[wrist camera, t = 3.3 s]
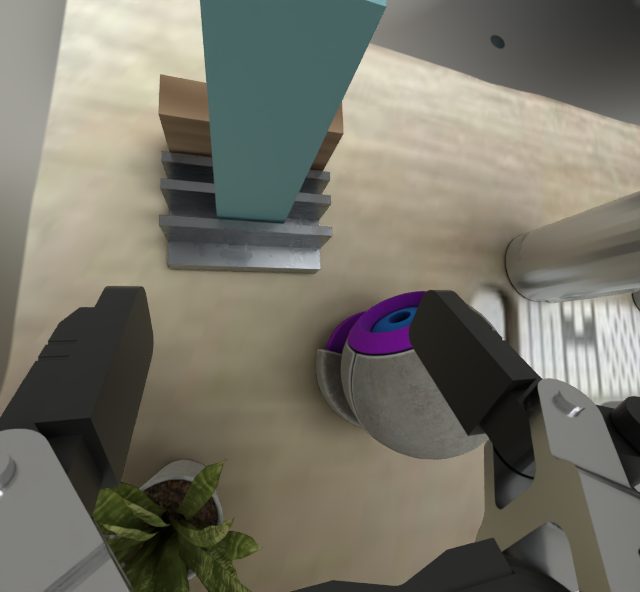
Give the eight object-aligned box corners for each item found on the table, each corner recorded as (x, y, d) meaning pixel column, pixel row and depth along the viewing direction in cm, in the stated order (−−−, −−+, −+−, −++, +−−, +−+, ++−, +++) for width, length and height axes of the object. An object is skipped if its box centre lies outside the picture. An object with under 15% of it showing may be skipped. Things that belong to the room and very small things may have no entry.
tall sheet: (278, 236, 31) (386, 6, 10) (218, 232, 29) (196, -50, 8) (277, 220, 31) (382, -37, 10) (218, 215, 29) (197, -100, 9)
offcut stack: (312, 188, 33) (343, 133, 24) (176, 174, 29) (155, 103, 20) (312, 162, 33) (341, 98, 24) (177, 144, 29) (157, 62, 21)
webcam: (390, 285, 36) (499, 247, 22) (445, 383, 36) (588, 408, 22) (294, 344, 32) (348, 344, 17) (356, 454, 32) (460, 543, 18)
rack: (315, 273, 33) (333, 258, 28) (171, 269, 29) (157, 251, 24) (310, 151, 35) (327, 114, 30) (175, 132, 31) (164, 85, 26)
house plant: (21, 505, 24) (-354, 801, 8) (168, 368, 28) (96, 397, 13) (161, 620, 25) (58, 1053, 10) (281, 472, 30) (340, 614, 14)
